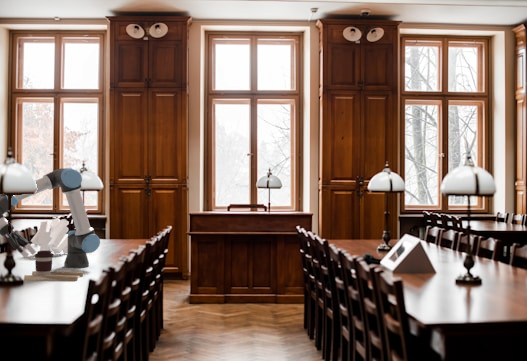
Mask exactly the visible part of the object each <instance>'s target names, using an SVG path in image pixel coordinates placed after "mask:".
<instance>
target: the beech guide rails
mask: <svg viewBox="0 0 527 361" xmlns="http://www.w3.org/2000/svg"><path fill="white" fill-rule="evenodd" d="M59 275H73V276H59ZM78 276H81V277H84V271H55V270H54V271H52V270H51V275H36V270H35V271H32V273H31V274H29V275H28V274H25V275H24V276H23V277H24V278H23V281H59V282H60V281H61V282H62V281H63V282H65V281H67V282H68V281H69V282H70V281H71V282H72V281H73V282H75V281H79V280H78V279H79V278H78Z"/></svg>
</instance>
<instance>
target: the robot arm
mask: <svg viewBox="0 0 527 361" xmlns="http://www.w3.org/2000/svg"><path fill="white" fill-rule="evenodd" d="M35 181H36V184H37V188H38V190H37V192H36V193H35V194H23V195H13V196H12V198H11V209H13V208H14V207H16V205H18V204H19V201H22V200H24V199H27V198H29V197H32V196H34V195H36V194H39V193H42V192H44V191H46V190H53V189H57V188H60V190H61V192H62V194H64V195H65V196H66V200H67V204H68V207H69V211H70V213H71V217H72V221H73V224H74V227H75V230H68V231H67V234H68V247H67V253H66V257H65V260H64V263H63V267H64V268H69V269H70V268H71V269H72V268H73V269H79V268H80V269H81V268H82V269H83V268H88V267H89V266H90V264H89V263H90V262H89V259H88V256H87V254H88V253H94V252H95V251H97V250H98V249H99V247H100V245H101V239H100V237H99V236H98V235H97V234H96V232H95V229H94V228H93V227H91V225H90V222H89V218H88V213H87V211H86V207H85V204H84V199H83V198H82V193H81V189H82V184H81V183H82V182H83V177H82V174H81V173H80V171H79V170H78V169H75V168H72V167H67V168H58V169H55V170H52V171H51V172H49V173H46V174H43V176H42V177H41V178H39V179H36V180H35ZM7 212H8V196H7V195H1V194H0V235H1V236H2V237H4V238H5V239H6V240H7V242H8V243H9V244H10V246H11V247H12V249H13V250H14V251H17V252H18V253H19V254H20V255H21V256H22V257H23V258H24V259H25V258H27V257H28V256H29V255H30V254H31V255H32V256H34V255H35V254H37V252H38V251H37V250H35V249H34V247H33V246H32V245H31V244H30V241H29V240H27V239H26V238H25V237H23V236H22V235H21V234H19V232H17V230H15V231H14V229H15V227H14V226H13V224H11V229H10V230H11V233H10V234H9V233H8V221H9V220H7V218H6V217H5V216H3V215H4V214H6V213H7ZM20 244H21V245H20ZM22 245H23V246H24V247H23V246H22ZM25 249H26V250H27V251H26V250H25ZM29 253H30V254H29Z"/></svg>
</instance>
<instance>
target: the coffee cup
mask: <svg viewBox="0 0 527 361" xmlns="http://www.w3.org/2000/svg"><path fill="white" fill-rule="evenodd" d="M54 254H55V253H53V252H51V251H40V250H38V251H37V252H36V253H34V258H35V271H36V275H51V271H52V267H53V257H54Z"/></svg>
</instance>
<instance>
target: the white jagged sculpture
mask: <svg viewBox="0 0 527 361" xmlns="http://www.w3.org/2000/svg"><path fill="white" fill-rule="evenodd" d="M69 224H70V223H69V221H68V220H67V219H66V218H63V219H60V218H54V219H53V218H52V219H51V223H50V222H49V221H48V220H47V221H41V222H40V226H39V228H38V230H37V232H36V233H35V234H34V236H33V237H32V238H31V240H30V242H31V243H32V244H33V245H38V246H39V247H40V248H39V251H51V253H53V254H55V255H56V254H61V252H62V253H63V255H65V254H66V255H67V247H68V232H69V231H70V230H69V227H68V225H69Z"/></svg>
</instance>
